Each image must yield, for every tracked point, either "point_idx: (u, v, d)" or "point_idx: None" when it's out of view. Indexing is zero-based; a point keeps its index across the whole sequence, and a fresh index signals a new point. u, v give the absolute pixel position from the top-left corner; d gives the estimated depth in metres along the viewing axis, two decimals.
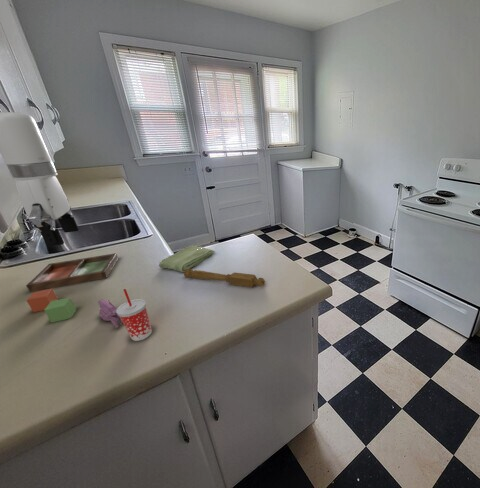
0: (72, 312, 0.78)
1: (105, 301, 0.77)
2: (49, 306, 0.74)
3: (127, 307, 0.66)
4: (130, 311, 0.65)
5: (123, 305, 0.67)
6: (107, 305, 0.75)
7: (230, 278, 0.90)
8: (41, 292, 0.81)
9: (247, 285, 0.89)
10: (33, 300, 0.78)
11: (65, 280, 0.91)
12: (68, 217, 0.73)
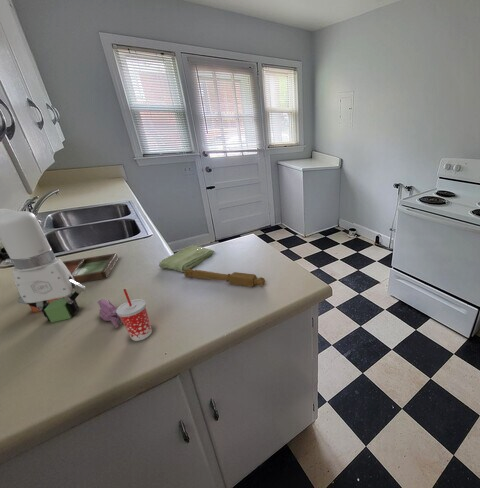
0: None
1: (105, 301, 0.77)
2: (49, 306, 0.74)
3: (127, 307, 0.66)
4: (130, 311, 0.65)
5: (123, 305, 0.67)
6: (107, 305, 0.75)
7: (230, 278, 0.90)
8: None
9: (248, 284, 0.90)
10: None
11: None
12: (48, 304, 0.76)
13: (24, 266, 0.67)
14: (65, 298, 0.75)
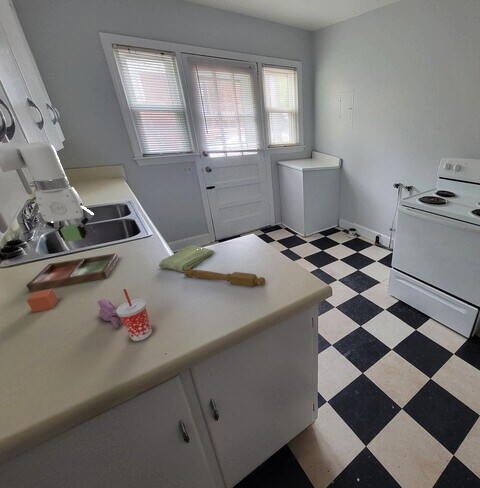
0: None
1: (105, 301, 0.77)
2: (64, 228, 0.89)
3: (127, 307, 0.66)
4: (130, 311, 0.65)
5: (123, 305, 0.67)
6: (107, 305, 0.75)
7: (231, 277, 0.90)
8: (41, 292, 0.81)
9: (248, 284, 0.90)
10: (33, 300, 0.78)
11: (65, 280, 0.91)
12: None
13: (45, 187, 0.81)
14: (77, 221, 0.89)
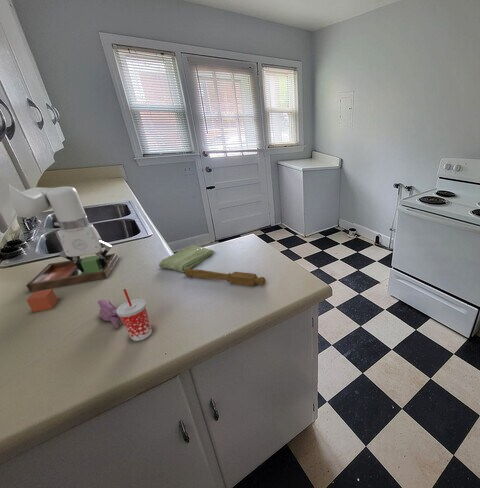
0: (100, 266, 1.01)
1: (105, 301, 0.77)
2: (83, 260, 0.97)
3: (127, 307, 0.66)
4: (130, 311, 0.65)
5: (123, 305, 0.67)
6: (107, 305, 0.75)
7: (231, 277, 0.90)
8: (41, 292, 0.81)
9: (248, 284, 0.90)
10: (33, 300, 0.78)
11: (65, 280, 0.91)
12: (80, 260, 0.98)
13: (68, 227, 0.90)
14: (97, 254, 0.98)
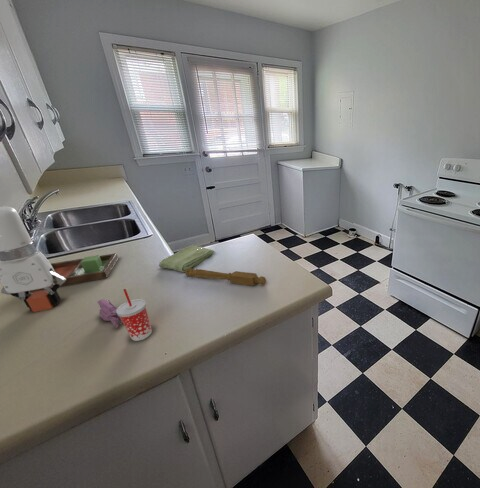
0: (100, 266, 1.01)
1: (105, 301, 0.77)
2: (83, 260, 0.97)
3: (127, 307, 0.66)
4: (130, 311, 0.65)
5: (123, 305, 0.67)
6: (107, 305, 0.75)
7: (231, 277, 0.91)
8: (41, 292, 0.81)
9: (249, 283, 0.90)
10: (33, 300, 0.78)
11: None
12: (30, 295, 0.80)
13: (6, 258, 0.71)
14: (46, 289, 0.79)
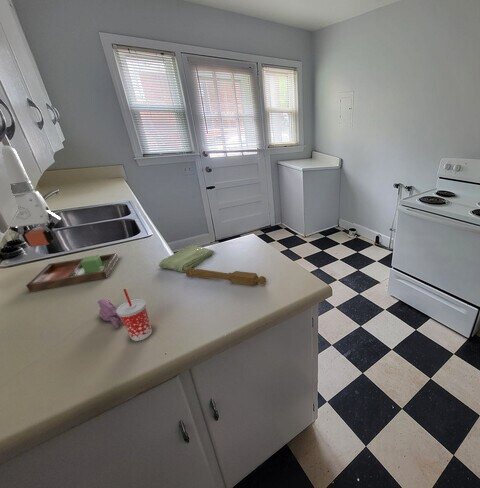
0: (100, 266, 1.01)
1: (105, 301, 0.77)
2: (83, 260, 0.97)
3: (127, 307, 0.66)
4: (130, 311, 0.65)
5: (123, 305, 0.67)
6: (107, 305, 0.75)
7: (232, 276, 0.91)
8: (38, 230, 0.89)
9: (249, 283, 0.90)
10: (31, 235, 0.86)
11: (65, 280, 0.91)
12: None
13: None
14: (43, 226, 0.87)
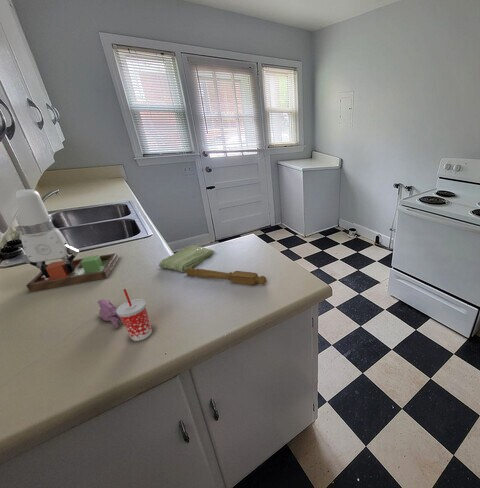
0: (100, 266, 1.01)
1: (105, 301, 0.77)
2: (83, 260, 0.97)
3: (127, 307, 0.66)
4: (130, 311, 0.65)
5: (123, 305, 0.67)
6: (107, 305, 0.75)
7: (232, 276, 0.91)
8: (57, 262, 0.96)
9: (249, 283, 0.90)
10: (51, 268, 0.94)
11: (65, 280, 0.91)
12: (45, 265, 0.95)
13: (30, 232, 0.86)
14: (63, 259, 0.95)
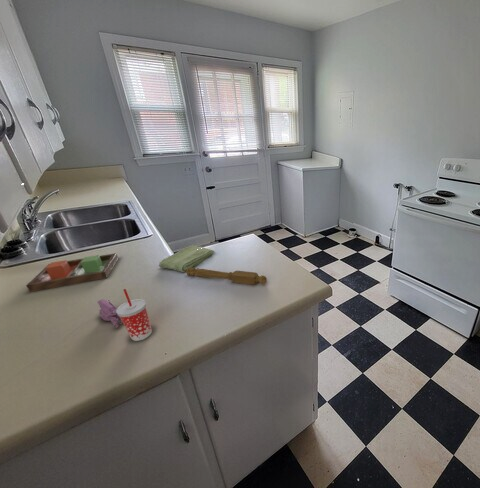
0: (100, 266, 1.01)
1: (105, 301, 0.77)
2: (83, 260, 0.97)
3: (127, 307, 0.66)
4: (130, 311, 0.65)
5: (123, 305, 0.67)
6: (107, 305, 0.75)
7: (232, 276, 0.91)
8: (57, 262, 0.96)
9: (249, 282, 0.91)
10: (51, 268, 0.94)
11: (65, 280, 0.91)
12: None
13: None
14: None
